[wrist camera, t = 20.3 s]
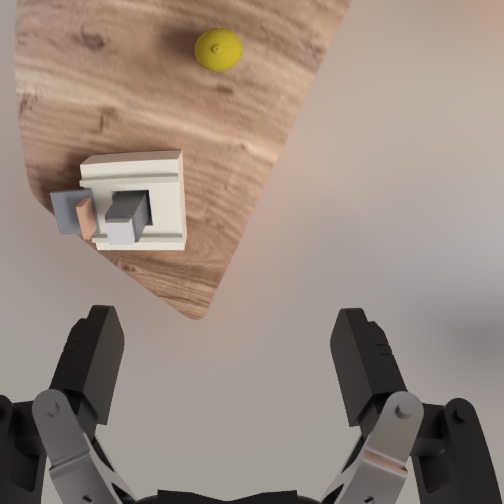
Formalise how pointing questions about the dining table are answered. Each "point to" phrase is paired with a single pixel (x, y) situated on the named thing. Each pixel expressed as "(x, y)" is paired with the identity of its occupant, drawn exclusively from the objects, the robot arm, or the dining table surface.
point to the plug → (127, 217)
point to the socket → (140, 178)
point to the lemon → (218, 49)
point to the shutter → (75, 212)
